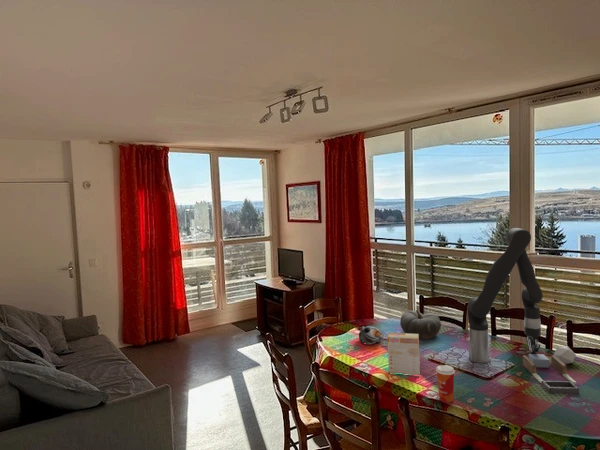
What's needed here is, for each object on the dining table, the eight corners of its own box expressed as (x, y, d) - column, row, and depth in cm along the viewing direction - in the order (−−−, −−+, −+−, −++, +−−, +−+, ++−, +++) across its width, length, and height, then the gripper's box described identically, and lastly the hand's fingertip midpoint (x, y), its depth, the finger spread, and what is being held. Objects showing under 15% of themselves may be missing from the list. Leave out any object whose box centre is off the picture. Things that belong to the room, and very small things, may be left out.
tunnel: (532, 375, 194) (532, 364, 194) (522, 365, 206) (522, 355, 206) (566, 375, 192) (566, 365, 192) (554, 365, 204) (554, 355, 203)
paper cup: (433, 396, 178) (432, 365, 178) (450, 394, 179) (449, 363, 178) (441, 404, 170) (440, 372, 170) (458, 403, 171) (458, 371, 170)
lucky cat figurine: (383, 339, 253) (387, 323, 246) (378, 352, 244) (382, 336, 237) (361, 331, 258) (364, 315, 251) (355, 344, 249) (358, 327, 241)
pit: (549, 393, 176) (549, 387, 176) (542, 385, 183) (542, 380, 183) (579, 393, 174) (579, 388, 174) (570, 386, 181) (570, 381, 181)
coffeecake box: (420, 371, 205) (418, 333, 204) (419, 377, 198) (418, 338, 197) (390, 368, 210) (388, 331, 208) (388, 374, 203) (387, 336, 202)
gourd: (397, 325, 272) (400, 301, 269) (434, 331, 269) (438, 306, 266) (400, 341, 248) (404, 315, 245) (441, 348, 245) (446, 321, 242)
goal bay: (540, 383, 185) (540, 381, 185) (532, 375, 194) (532, 373, 194) (576, 384, 183) (576, 382, 183) (566, 375, 192) (566, 373, 192)
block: (533, 367, 203) (533, 359, 203) (528, 362, 210) (528, 353, 210) (549, 368, 202) (549, 359, 201) (543, 362, 209) (543, 354, 208)
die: (575, 368, 200) (581, 350, 203) (558, 359, 202) (564, 341, 204) (564, 368, 208) (570, 350, 211) (548, 359, 210) (554, 342, 212)
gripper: (519, 322, 218) (520, 353, 219) (530, 329, 205) (530, 363, 206) (534, 322, 217) (535, 353, 218) (545, 329, 204) (546, 363, 205)
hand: (533, 358), depth 212 cm, fingers closed
